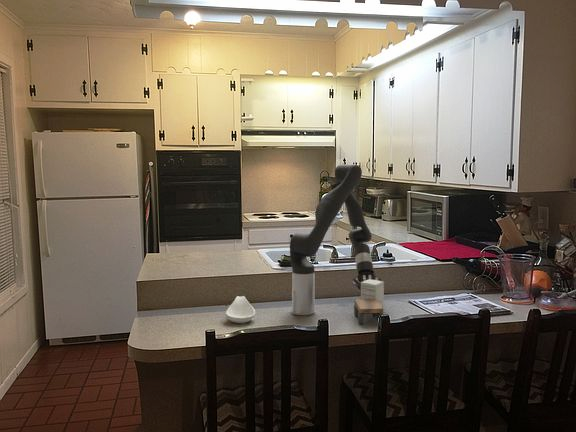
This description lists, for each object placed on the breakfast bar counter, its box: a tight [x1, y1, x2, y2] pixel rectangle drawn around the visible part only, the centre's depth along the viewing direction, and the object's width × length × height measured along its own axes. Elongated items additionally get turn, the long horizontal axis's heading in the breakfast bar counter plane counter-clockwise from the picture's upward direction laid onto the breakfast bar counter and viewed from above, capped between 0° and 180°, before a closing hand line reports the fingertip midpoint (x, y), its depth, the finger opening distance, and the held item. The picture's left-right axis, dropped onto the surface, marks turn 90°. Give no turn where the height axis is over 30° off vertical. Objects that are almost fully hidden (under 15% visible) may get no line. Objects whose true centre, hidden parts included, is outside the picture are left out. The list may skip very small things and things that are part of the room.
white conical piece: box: [225, 295, 256, 324], centre depth 202 cm, size 24×12×7 cm, turn 7°
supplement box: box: [360, 279, 385, 311], centre depth 209 cm, size 7×7×13 cm
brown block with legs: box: [353, 298, 384, 325], centre depth 196 cm, size 9×15×7 cm, turn 2°
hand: (369, 298), depth 214 cm, fingers closed
